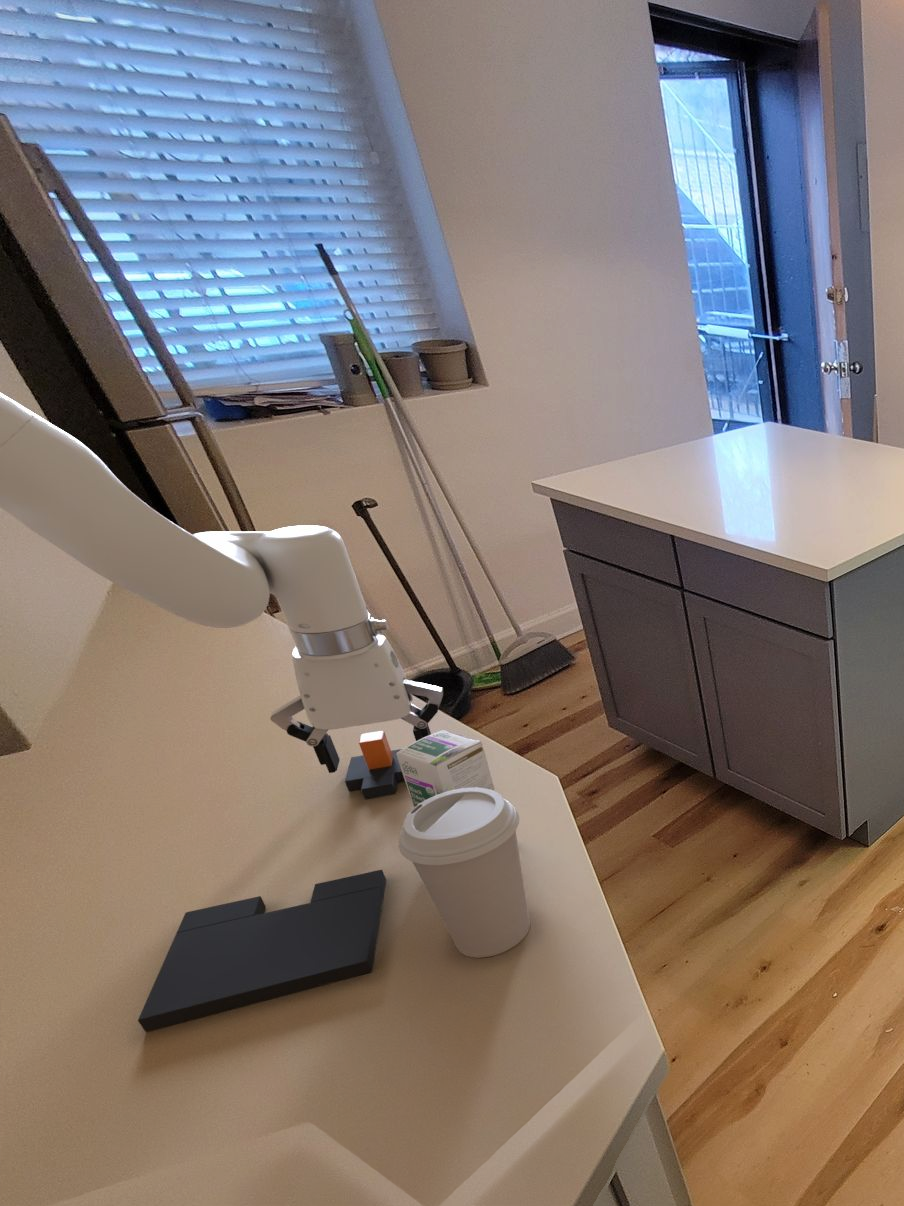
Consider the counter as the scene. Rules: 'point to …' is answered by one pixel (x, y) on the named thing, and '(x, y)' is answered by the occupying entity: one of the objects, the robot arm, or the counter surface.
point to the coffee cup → (470, 867)
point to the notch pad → (266, 950)
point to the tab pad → (373, 777)
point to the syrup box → (443, 765)
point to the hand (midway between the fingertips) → (381, 758)
